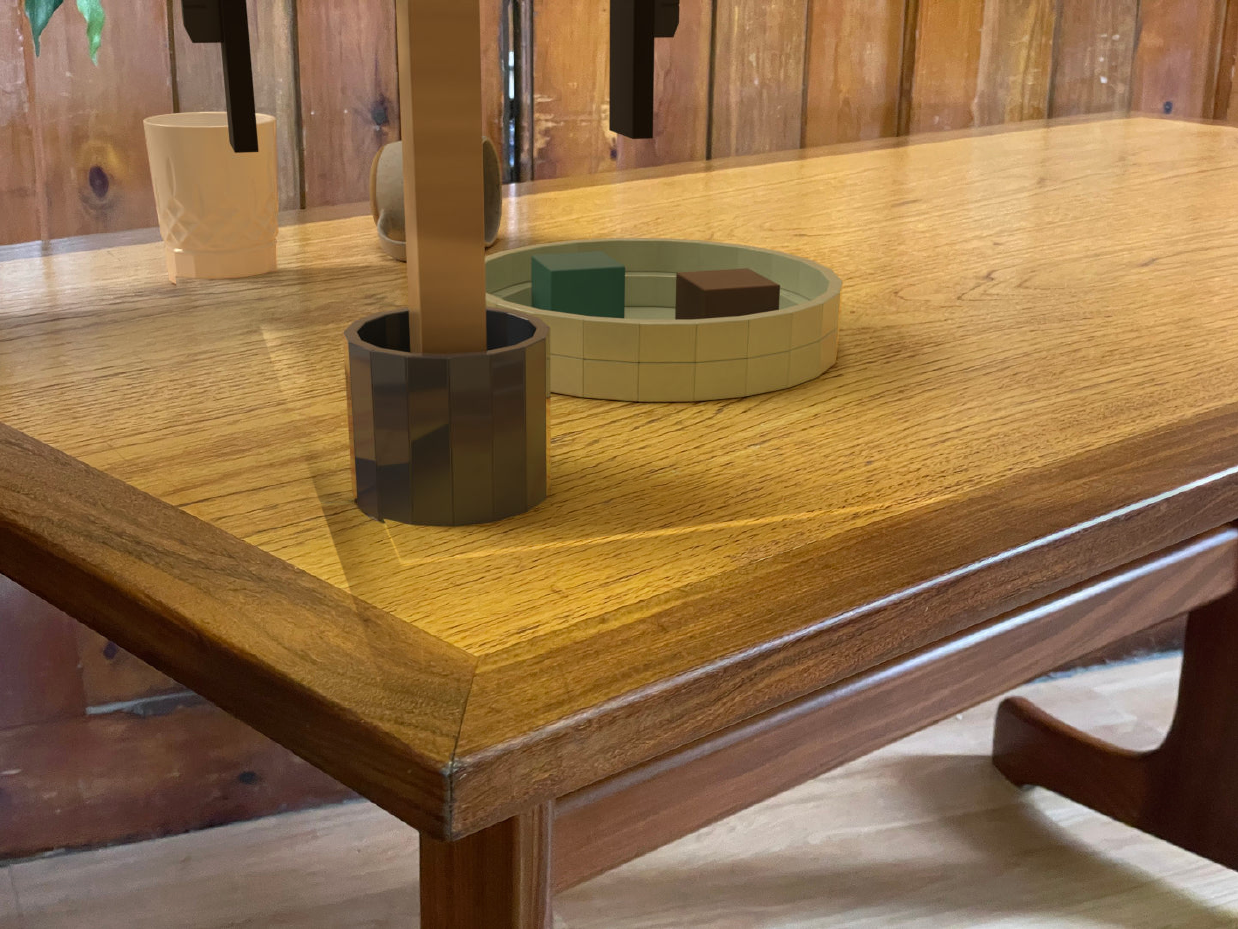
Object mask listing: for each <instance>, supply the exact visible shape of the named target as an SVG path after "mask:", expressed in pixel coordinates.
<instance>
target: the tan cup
mask: <svg viewBox="0 0 1238 929" xmlns="http://www.w3.org/2000/svg"><path fill="white" fill-rule="evenodd" d="M255 113H256V125H257V137H258V150H259V152H246V153H235V152H234V150H233V148H232V146H231V145H230V142H229V131H228V120H227V111H188V112H176V113H175V112H174V113H166V114H157V115H152V116H149V117H145V118H144V119H143V120H142V126H143V131H144V137H145V144H146V151H147V158H148V165H149V171H150V178H151V179H150V180H151V185H152V191H153V197H154V202H155V208H156V212H157V213H156V214H157V220H158V226H159V232H160V236H161V238H162V241H163V242H164V246H163V247H164V253H165V261H166V262H165V263H166V267H167V275H168V280H169V281H170V282H171V283H173V284H175V285H177V278H176V277H183V278H189V279H197V280H198V279H200V280H201V279H205V280H207V279H208V280H209V279H211V280H223V279H225V280H226V279H236V278H246V277H247V278H248V277H252V276H257V275H261V274H266V273H268V272H277V271H278V253H277V252H278V251H277V243H278V240H277V237H278V235H279V223H278V222H279V220H278V219H279V186H278V185H279V182H278V181H279V178H278V142H277V141H278V140H277V139H278V138H277V117H275V116H273V115H272V114H271V115H270V114H265V113H258V112H255Z"/></svg>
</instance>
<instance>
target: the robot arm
mask: <svg viewBox="0 0 1238 929" xmlns="http://www.w3.org/2000/svg"><path fill="white" fill-rule="evenodd" d="M680 2H681V0H609V73H608V74H609V81H608V82H609V84H608V86H609V88H608V90H609V92H608V93H609V95H608V97H609V98H608V100H609V101H608V103H609V104H608V110H609V111H608V112H609V115H608V117H609V118H608V131H610V132H613V133H615V134H618V135H620V136H624V137H626V138H628V139H631V140H644V139H654V100H655V99H654V98H655V97H654V93H655V91H654V90H655V88H654V87H655V39H659V38H660V39H662V38H663V39H664V38H665V39H667V38H668V39H671V38H672V39H673V38H674V37H675V35H676V32H677V30H678V27H679V23H680ZM180 6H181V7H180V8H181V18H182V19H181V20H182V25H183V28H184V30H185V31H186V34H187V36H188V37H189V40H190V41H191V43H192V44H220V52H221V62H222V63H221V64H222V74H223V83H224V84H223V85H224V96H225V107H226V108H225V109H226V112H227V120H228V131H229V142H230V145H231V146H232V148H233V150H234V152H235V153H246V152H259V150H258V137H257V125H256V113H257V112H256V103H255V92H254V79H253V77H254V76H253V67H252V55H251V42H250V31H249V30H250V29H249V18H248V4H247V0H180Z"/></svg>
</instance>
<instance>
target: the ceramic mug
mask: <svg viewBox="0 0 1238 929" xmlns="http://www.w3.org/2000/svg"><path fill="white" fill-rule="evenodd" d="M482 144H483V192H484V239H485V248H490V246H492V245H493V244H494V243H495V241H496V239H497V237H498V234H499V230H500V226H501V221H502V215H503V185H502V183H503V182H502V172H501V171H502V170H501V164H500V163H501V162H500V159H499V155H498V152H497V148H496V145H495V144H494V142H493V140H492V139H491V138H490V137H488V136H486V135H482ZM368 193H369V205H370V211H371V214H372V218H373V222H374V225H375V226H376V232H377V238H378V242H379V246H380V247H381V250H382V251H383V252H384V254H386V255H387V256H388V257H391V258H392V259H394V260H396V261H397V260H398V261H402V262H407V255H406V231H405V207H404V183H403V159H402V140H399V141H395V142H390V143H387V144H385V145H382V146H381V147H380V148H379V150H378V151H377V152H376V153H375V155H374V157H373V159H372V163H371V166H370V170H369V179H368Z"/></svg>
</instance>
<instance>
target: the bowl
mask: <svg viewBox="0 0 1238 929" xmlns="http://www.w3.org/2000/svg"><path fill="white" fill-rule="evenodd" d="M596 251H602V252H604V253H605V254H607V255H608V256H610V257H611V258H613V259H614V260H616V261H617V262H619V263H620V264H622V265H624V266H625V318H624V319H623V318H607V317H592V316H584V315H577V314H569V313H562V312H555V311H548V310H541V309H537V308H532V292H531V256H532V255H541V254H559V253H577V252H596ZM744 268H748V269H750V270H752V271H754V272H756V273H758V274H760V275H762V276H763V277H765V278H767V279H769V280H771V281H773V282H775V283H777V284H779V285H780V299H779V310H775V311H769V312H763V313H757V314H751V315H744V316H736V317H722V318H708V319H694V320H675V307H676V274H677V273H678V272H694V271H711V270H727V269H744ZM843 284H844V282H843V280H842V278H840V276H839V275H838V274H837V273H836V272H834V270H833V269H831V268H829V267H827V266H825V265H823V264H821V263H820V262H819V263H818V262H817V261H815V260H812V259H809V258H806V257H803V256H798V255H796V254H791V253H788V252H784V251H780V250H775V249H771V248H770V249H769V248H764V247H760V246H759V247H758V246H753V245H747V244H739V243H730V242H720V241H712V240H703V239H689V238H688V239H685V238H666V237H606V238H605V237H604V238H589V239H588V238H587V239H585V238H584V239H573V240H563V241H554V242H546V243H535V244H531V245H526V246H521V247H516V248H510V249H505V250H500V251H498V252H495V253H491V254H489V255H485V286H486V306H488V307H496V308H503V309H510V310H515V311H519V312H522V313H525V314H528V315H532V316H535V317H538V318H540V319H541V320H542V321H543V322H544V323H545V324H547V325H548V326H549V327H550V385H551V393H555V394H559V395H565V396H573V397H578V398H586V399H596V400H597V399H598V400H610V401H611V400H612V401H623V402H639V403H657V402H658V403H659V402H662V403H667V402H668V403H671V402H672V403H673V402H674V403H675V402H676V403H678V402H679V403H680V402H682V403H683V402H686V403H687V402H702V401H704V402H705V401H714V400H723V399H724V400H726V399H735V398H737V399H738V398H744V397H751V396H754V395H755V396H756V395H761V394H766V393H770V392H775V391H780V390H785V389H789V388H792V387H795V386H797V385H800V384H803V383H805V382H808V381H812V380H814V379H816V378H819V377H820V376H821V375H823V374H824V373H825V372H827V371H828V370H829V369H830V368H831V367H833V366H834V365H835V364H836V361H837V357H838V352H839V341H840V329H841V328H840V327H841V315H842V314H841V313H842V312H841V311H842V301H843V300H842V298H843Z"/></svg>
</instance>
